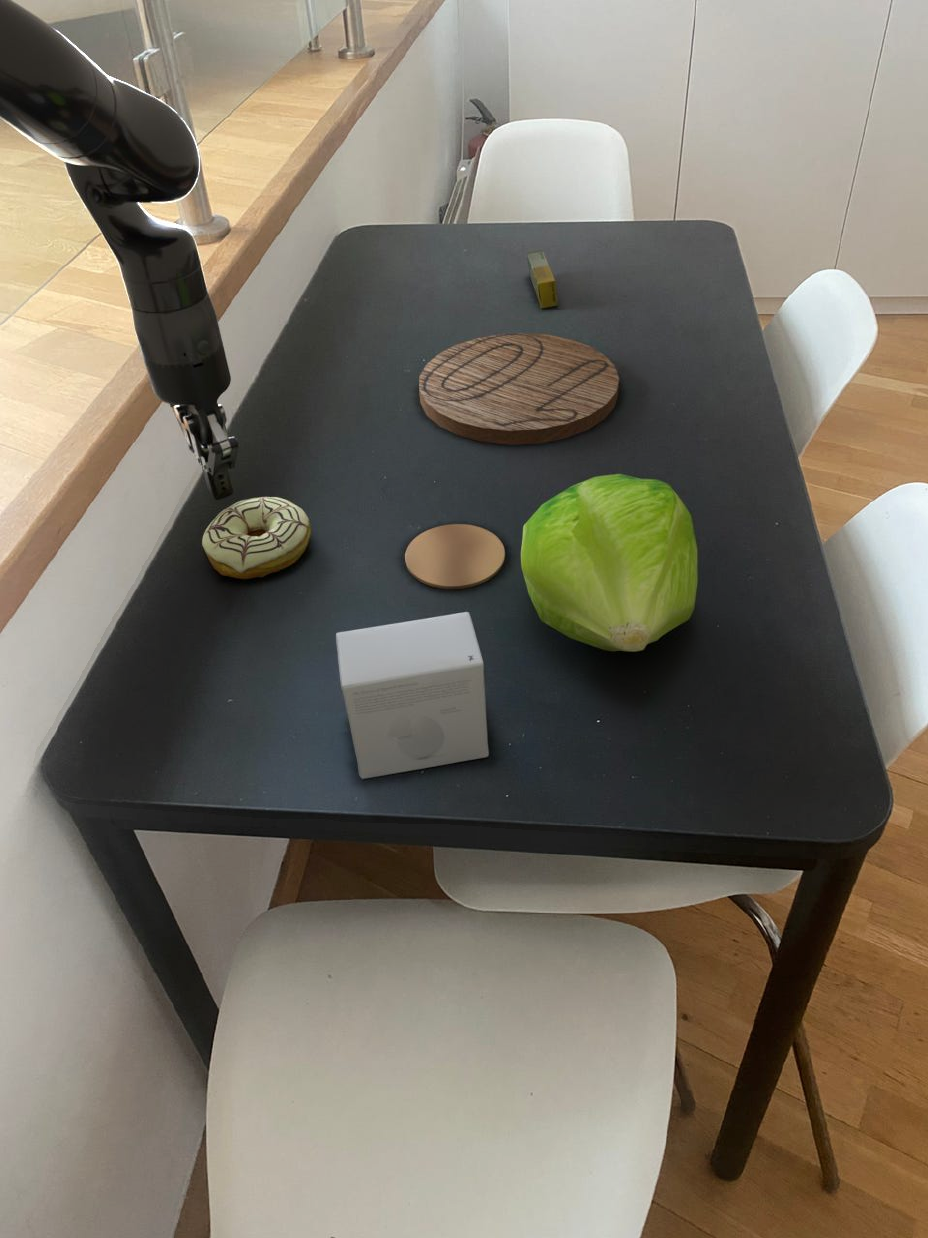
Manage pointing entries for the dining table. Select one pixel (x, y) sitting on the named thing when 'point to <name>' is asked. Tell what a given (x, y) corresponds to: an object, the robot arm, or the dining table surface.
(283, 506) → the decorated donut
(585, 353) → the trivet
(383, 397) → the dining table surface
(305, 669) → the dining table surface
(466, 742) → the cosmetics box
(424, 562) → the cork coaster
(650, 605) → the lettuce
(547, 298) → the medication box
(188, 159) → the robot arm
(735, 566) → the dining table surface
